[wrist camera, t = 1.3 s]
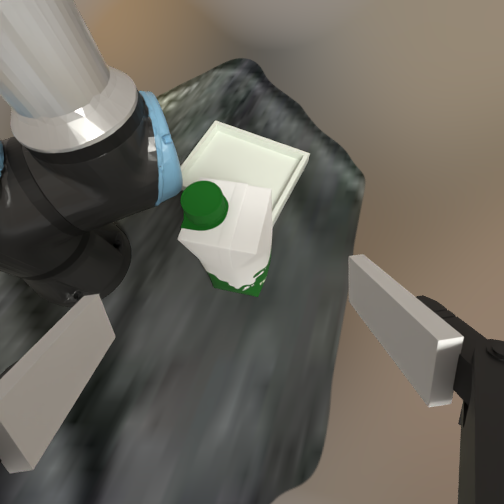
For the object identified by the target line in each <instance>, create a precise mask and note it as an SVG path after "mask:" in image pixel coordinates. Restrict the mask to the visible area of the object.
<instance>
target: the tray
mask: <svg viewBox="0 0 504 504" xmlns="http://www.w3.org/2000/svg"><path fill="white" fill-rule="evenodd" d="M309 155H310V153H307V152H304V151H301V150H298V149H295V148H293V147H290V146H287V145H284V144H281V143H278V142H275V141H273V140H270V139H267V138H264V137H261V136H258V135H255V134H253V133H250V132H247V131H244V130H241V129H238V128H235V127H232V126H230V125H227V124H224V123H221V122H218V121H215V122H214V123H213V124H212V126H211V127H210V128H209V130H208V131H207V132H206V134H205V135H204V136H203V138H202V139H201V140H200V141H199V143H198V144H197V145H196V147H195V148H194V149H193V151H192V152H191V153H190V155H189V156H188V157H187V159H186V160H185V161H184V163H183V164H182V165H181V167H180V168H181V172H182V178H183V185H182V189H181V191H184V190H185V188H186V187H188V186H189V185H190V184H192V183H194V182H197V181H199V179H200V177H202V178H210V179H217V180H223V181H230V182H241V183H247V184H248V185H251V186H257V187H263V188H270V189H272V227H273V225H274V224H275V222H276V220H277V218H278V216H279V214H280V213H281V211H282V209H283V207H284V205H285V203H286V202H287V200H288V198H289V196H290V194H291V192H292V190H293V189H294V187H295V185H296V183H297V181H298V179H299V178H300V176H301V174H302V172H303V170H304V168H305V167H306V165H307V163H308V160H309Z"/></svg>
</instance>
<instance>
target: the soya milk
mask: <svg viewBox="0 0 504 504" xmlns="http://www.w3.org/2000/svg"><path fill="white" fill-rule="evenodd" d="M180 201H181V205H182V208H183V210H184V220H183V222H182V225H181V228H182V229H181V231H180V234H179V236H178V240H179V241H180V242H181V243H182V244H183V245H184V246H185V247H186V248H188V249H189V250H190V251H191V252H192V253H193V254H194V255H195V256H196V257H197V258H198V259H199V260H200V262H201V263H202V265H203V266H204V268H205V270H206V271H207V273H208V275H209V277H210V279H211V282H212V284H213V287H214V288H218V289H222V290H227V291H232V292H237V293H241V294H246V295H251V296H256V297H258V296H259V293H260V291H261V289H262V286H263V284H264V282H265V279H266V276H267V273H268V269H269V265H270V259H271V246H272V189H270V188H263V187H257V186H251V185H248V184H247V183H241V182H230V181H223V180H217V179H210V178H202V177H200V179H199V181H197V182H194V183H192V184H190V185H189V186H188V187H186V188H185V190H184V191H183V193H182V195H181V200H180Z"/></svg>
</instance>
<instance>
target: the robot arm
mask: <svg viewBox="0 0 504 504" xmlns="http://www.w3.org/2000/svg"><path fill="white" fill-rule="evenodd" d="M0 96H1V97H2V98H3V99H4V100H5V101H6V102H7V103H8V104H9V105H10V107H11V108H12V110H11V120H10V127H11V130H12V133H13V135H14V136H15V137H11V138H8V139H5V140H0V271H3V272H5V273H8V274H11V275H14V276H17V277H20V278H22V279H23V280H24V281H25V282H26V283H27V284H28V285H29V286H30V287H31V288H32V289H33V290H34V291H35V292H36V293H37V294H38V295H39V296H41V297H42V298H44V299H45V300H47V301H49V302H51V303H55V304H58V305H61V306H65V307H72V308H71V309H70V310H69V311H68V312H67V313H66V314H65V315H64V316H63V317H62V318H61V319H60V320H59V321H58V322H57V323H56V324H55V325H54V326H53V327H52V328H51V329H50V330H49V331H48V332H47V333H46V334H45V335H44V336H43V337H42V338H41V339H40V340H39V341H38V342H37V343H36V344H35V345H34V346H33V347H32V348H31V349H30V350H29V351H28V352H27V353H26V354H25V355H24V356H23V357H22V358H21V359H20V360H18V361H17V362H15V363H14V364H12V365H11V366H9V367H8V368H7V369H6V370H5V371H4V372H3V373H2V374H1V375H0V462H2V464H3V465H4V466H5V468H6V469H7V470H8V472H9V473H15V472H22V471H28V470H33V469H34V468H35V466H36V464H37V463H38V461H39V460H40V458H41V456H42V455H43V453H44V452H45V450H46V448H47V447H48V445H49V443H50V442H51V440H52V439H53V437H54V435H55V434H56V432H57V431H58V429H59V427H60V426H61V424H62V422H63V421H64V419H65V418H66V416H67V414H68V413H69V411H70V410H71V408H72V406H73V405H74V403H75V402H76V400H77V398H78V397H79V395H80V393H81V392H82V390H83V389H84V387H85V385H86V384H87V382H88V381H89V379H90V377H91V376H92V374H93V372H94V371H95V369H96V368H97V366H98V364H99V363H100V361H101V360H102V358H103V356H104V355H105V353H106V351H107V350H108V348H109V347H110V345H111V343H112V342H113V340H114V339H115V334H114V332H113V329H112V327H111V324H110V321H109V319H108V316H107V314H106V311H105V309H104V306H103V304H102V301H101V299H103V298H104V297H106V296H107V295H109V294H110V293H111V292H112V291H113V290H114V289H115V288H116V287H117V286H118V285H119V284H120V282H121V281H122V280H123V278H124V276H125V275H126V273H127V270H128V268H129V264H130V260H131V248H130V244H129V241H128V239H127V237H126V235H125V234H124V233H123V232H122V231H121V230H120V229H119V228H118V227H117V226H116V225H115V224H113V223H112V222H115V221H117V220H120V219H122V218H125V217H128V216H130V215H133V214H135V213H138V212H141V211H143V210H146V209H149V208H151V207H155V206H158V205H159V204H160V203H161V202H163V201H165V200H167V199H169V198H172V197H174V196H176V195H177V194H178V193H179V192H180V191H181V189H182V185H183V178H182V172H181V168H180V164H179V160H178V156H177V153H176V149H175V146H174V143H173V141H172V139H171V135H170V132H169V128H168V125H167V122H166V119H165V117H164V114H163V111H162V109H161V107H160V104H159V102H158V100H157V99H156V97H155V95H154V94H153V93H152V92H148V91H147V92H144V91H142V92H141V91H139V92H138V90H137V88H136V85H135V84H134V82H133V80H132V79H131V78H130V77H129V76H128V75H127V74H126V73H124V72H122V71H120V70H117V69H115V68H113V67H111V66H109V65H107V64H106V62H105V60H104V58H103V56H102V54H101V53H100V50H99V48H98V46H97V45H96V43H95V41H94V39H93V37H92V35H91V33H90V31H89V29H88V27H87V25H86V23H85V21H84V20H83V18H82V16H81V14H80V12H79V10H78V8H77V6H76V4H75V2H74V0H0ZM349 302H350V304H351V305H352V306H353V307H354V309H355V310H356V312H357V313H358V314H359V316H360V317H361V318H362V320H363V321H364V322H365V323H366V325H367V326H368V328H369V329H370V330H371V332H372V333H373V334H374V335H375V337H376V338H377V339H378V341H379V342H380V343H381V345H382V346H383V347H384V349H385V350H386V351H387V353H388V354H389V355H390V357H391V358H392V359H393V361H394V362H395V363H396V365H397V366H398V367H399V369H400V370H401V371H402V373H403V374H404V375H405V377H406V378H407V379H408V381H409V382H410V383H411V384H412V386H413V387H414V389H415V390H416V391H417V393H418V394H419V395H420V397H421V398H422V399H423V400H424V402H425V403H426V405H427V406H428V407H433V406H440V405H446V404H451V402H452V396H453V391H455V392H457V394H458V395H459V396H460V397H461V398H462V399H463V404H462V409H461V414H460V418H459V423H458V424H459V425H461V439H460V440H461V441H460V465H459V488H458V504H504V341H500V340H493V339H486V338H485V337H483V336H482V335H481V334H479V333H478V332H477V331H475V330H474V329H473V328H472V327H470V326H469V325H467V324H466V323H465V322H464V321H462V320H461V319H459V318H458V317H456V316H455V315H454V314H453V313H452V312H450V311H449V310H448V311H447V309H446V308H445V307H444V306H442V305H441V304H440V303H438V302H437V301H435V300H433V299H430V298H428V297H426V296H417V297H415V296H413V295H412V294H411V293H410V292H409V291H407V290H406V289H405V288H404V287H403V286H401V285H400V284H399V283H398V282H396V281H395V280H394V279H393V278H392V277H390V276H389V275H388V274H387V273H385V272H384V271H383V270H382V269H381V268H379V267H378V266H377V265H376V264H374V263H373V262H372V261H371V260H369V259H368V258H367V257H366V256H365V255H363V254H361V255H354V256H349Z"/></svg>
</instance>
